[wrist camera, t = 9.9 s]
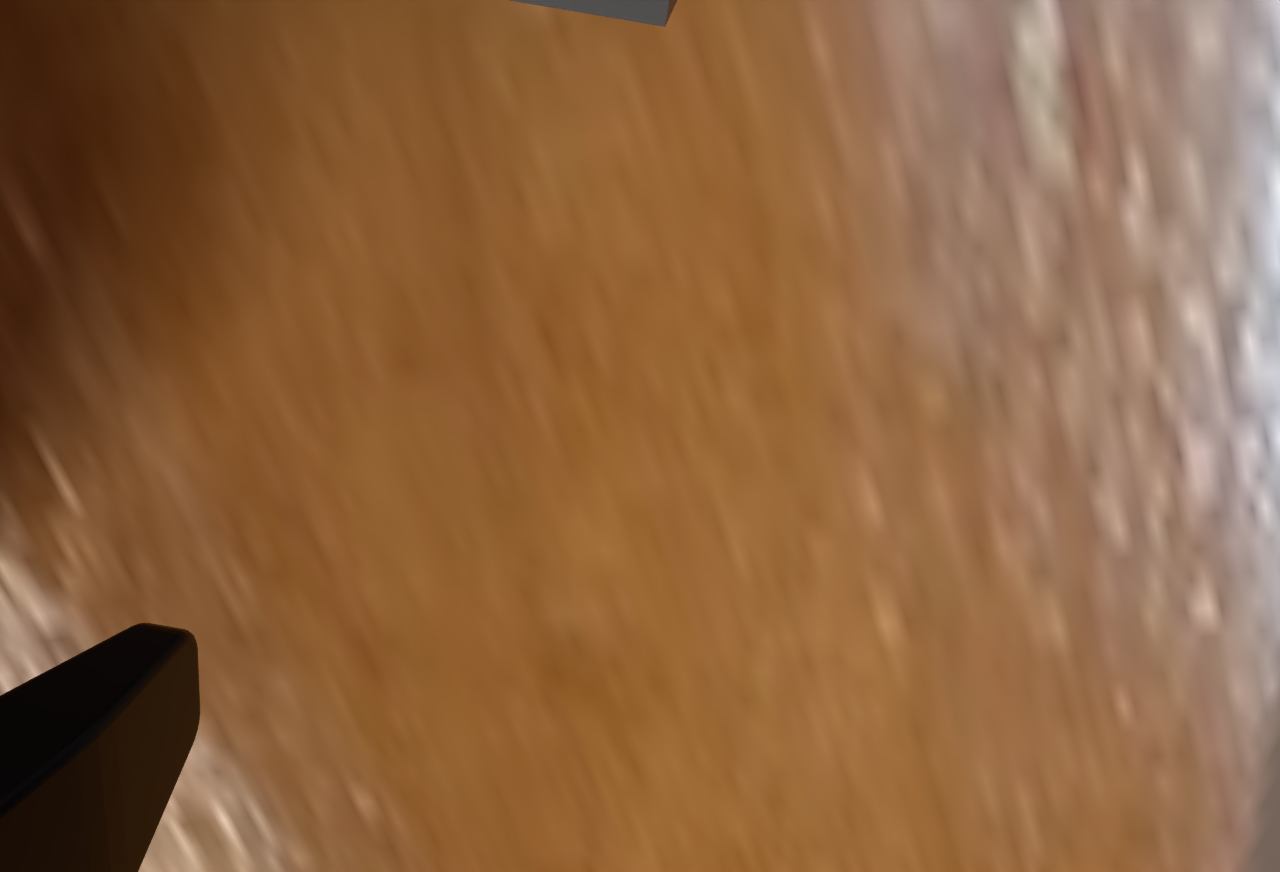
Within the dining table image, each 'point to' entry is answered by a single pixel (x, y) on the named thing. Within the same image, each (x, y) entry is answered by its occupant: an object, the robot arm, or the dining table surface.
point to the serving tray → (616, 8)
